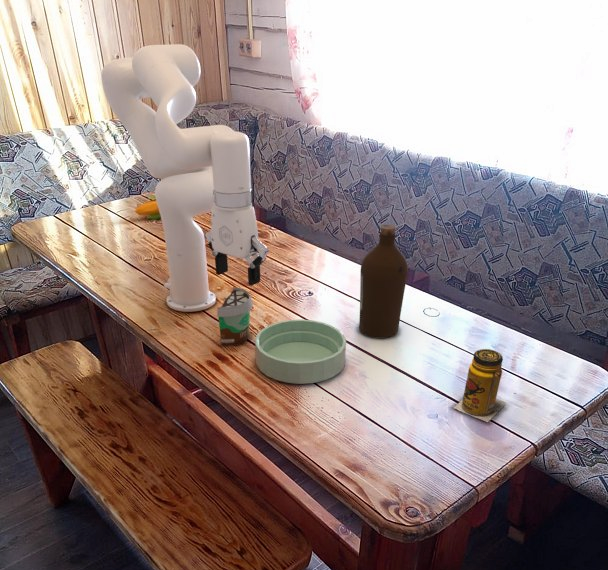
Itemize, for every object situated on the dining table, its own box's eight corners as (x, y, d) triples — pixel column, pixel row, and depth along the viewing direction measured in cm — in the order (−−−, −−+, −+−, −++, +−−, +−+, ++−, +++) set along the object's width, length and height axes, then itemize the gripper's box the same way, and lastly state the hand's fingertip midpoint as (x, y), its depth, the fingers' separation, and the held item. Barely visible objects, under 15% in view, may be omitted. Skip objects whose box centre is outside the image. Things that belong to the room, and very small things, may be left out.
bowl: (237, 365, 128) (236, 342, 125) (293, 332, 141) (293, 311, 138) (308, 396, 118) (308, 373, 115) (361, 359, 131) (363, 337, 128)
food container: (245, 351, 133) (243, 310, 127) (219, 348, 134) (216, 308, 128) (259, 326, 143) (258, 288, 137) (235, 324, 144) (233, 285, 138)
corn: (189, 192, 211) (138, 201, 201) (192, 213, 215) (142, 224, 205) (179, 189, 216) (128, 198, 206) (182, 210, 220) (132, 220, 210)
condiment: (452, 408, 116) (463, 355, 109) (472, 390, 121) (483, 339, 114) (487, 423, 112) (500, 369, 105) (506, 404, 117) (520, 351, 110)
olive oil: (405, 324, 145) (417, 222, 131) (394, 343, 137) (406, 237, 123) (363, 316, 148) (371, 216, 134) (350, 335, 140) (357, 230, 126)
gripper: (190, 195, 122) (198, 273, 132) (252, 210, 114) (256, 293, 123) (216, 188, 127) (221, 264, 137) (277, 202, 118) (279, 282, 128)
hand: (238, 278), depth 130 cm, fingers open, 9 cm apart
